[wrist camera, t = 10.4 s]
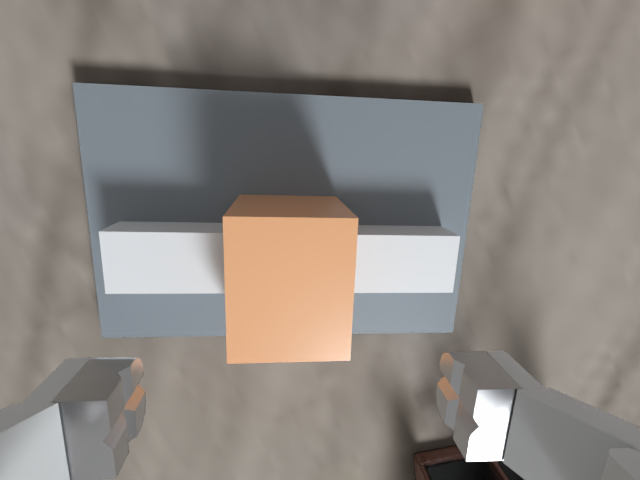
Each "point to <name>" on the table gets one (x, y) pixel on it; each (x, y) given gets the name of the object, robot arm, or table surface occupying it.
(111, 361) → the robot arm
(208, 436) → the table surface
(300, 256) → the block
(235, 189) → the rail board
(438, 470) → the letter holder
